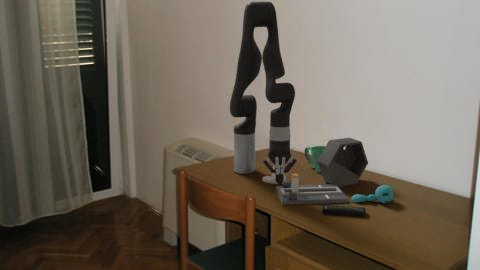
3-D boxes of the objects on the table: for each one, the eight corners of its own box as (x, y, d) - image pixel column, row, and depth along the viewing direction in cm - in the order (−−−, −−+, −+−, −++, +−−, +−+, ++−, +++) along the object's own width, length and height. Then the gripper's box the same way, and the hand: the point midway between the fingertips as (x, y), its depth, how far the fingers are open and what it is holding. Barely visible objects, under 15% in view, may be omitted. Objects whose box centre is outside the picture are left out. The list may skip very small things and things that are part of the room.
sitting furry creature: (279, 177, 210) (280, 149, 207) (293, 182, 203) (293, 154, 200) (261, 181, 205) (261, 153, 202) (274, 187, 198) (275, 158, 195)
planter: (321, 178, 193) (347, 132, 194) (310, 172, 200) (335, 128, 201) (350, 195, 201) (375, 151, 202) (338, 189, 208) (363, 146, 209)
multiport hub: (365, 218, 168) (365, 212, 168) (322, 215, 171) (322, 208, 171) (365, 213, 173) (365, 207, 172) (322, 210, 176) (322, 204, 175)
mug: (337, 171, 218) (338, 149, 215) (322, 176, 212) (323, 153, 209) (312, 163, 229) (312, 142, 226) (297, 168, 223) (297, 146, 220)
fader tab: (291, 189, 189) (291, 173, 187) (296, 189, 189) (297, 173, 188) (292, 192, 186) (293, 176, 184) (298, 192, 186) (299, 176, 184)
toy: (354, 211, 177) (397, 202, 174) (349, 193, 178) (392, 183, 175) (354, 209, 188) (394, 200, 185) (349, 192, 189) (389, 183, 186)
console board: (275, 189, 195) (275, 181, 194) (336, 187, 197) (336, 179, 196) (282, 204, 180) (282, 195, 179) (347, 202, 182) (348, 193, 181)
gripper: (295, 135, 186) (295, 179, 190) (260, 136, 185) (260, 180, 189) (299, 139, 179) (298, 186, 183) (263, 140, 178) (262, 187, 182)
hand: (279, 183), depth 186 cm, fingers closed
